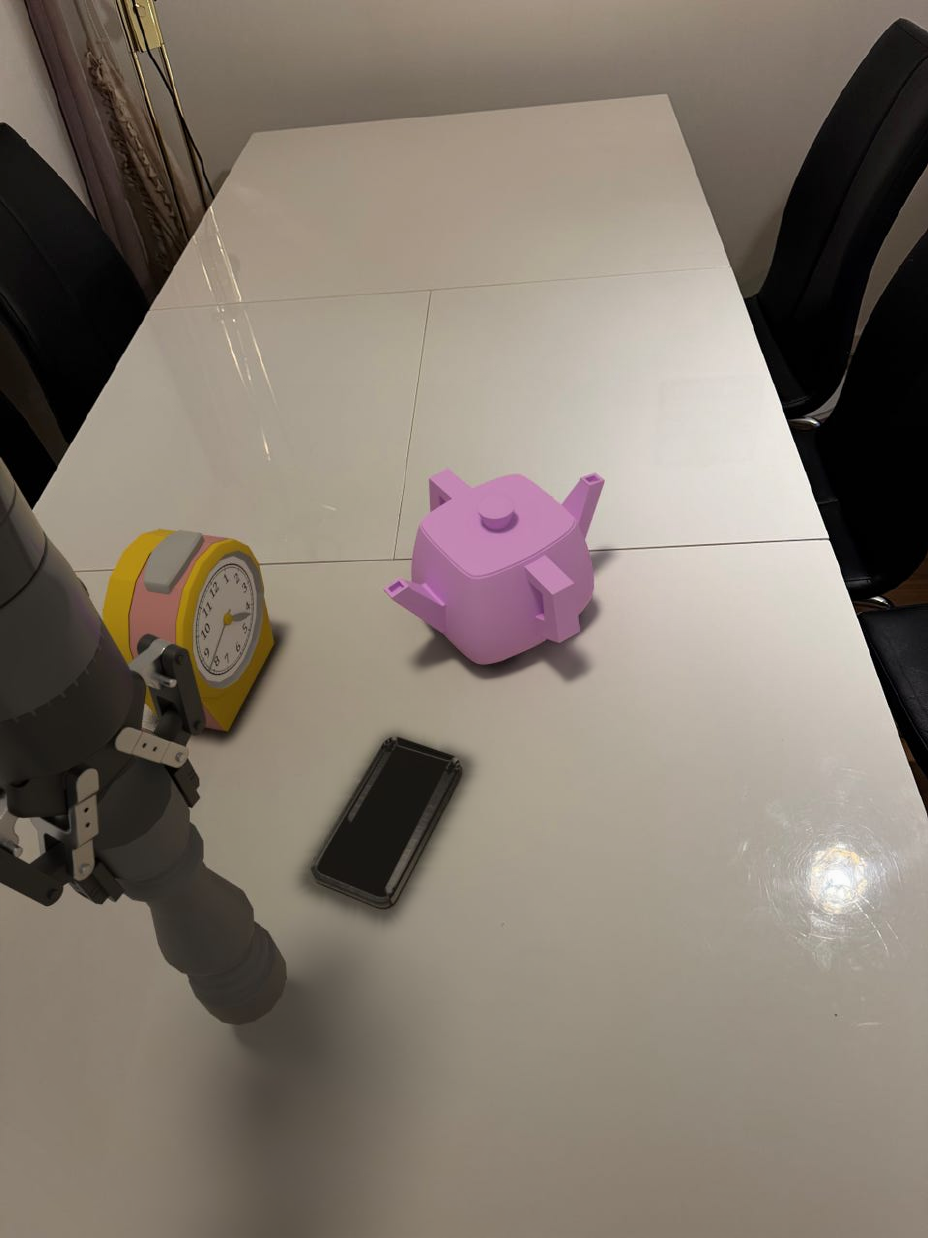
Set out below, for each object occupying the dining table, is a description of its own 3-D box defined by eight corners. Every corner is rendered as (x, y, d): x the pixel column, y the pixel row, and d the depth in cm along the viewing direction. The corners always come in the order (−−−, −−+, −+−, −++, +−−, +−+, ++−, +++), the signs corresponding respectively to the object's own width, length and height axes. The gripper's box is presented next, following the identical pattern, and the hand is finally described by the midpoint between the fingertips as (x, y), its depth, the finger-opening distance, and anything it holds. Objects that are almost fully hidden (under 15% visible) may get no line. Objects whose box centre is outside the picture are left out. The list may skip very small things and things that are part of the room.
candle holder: (281, 1023, 64) (163, 852, 45) (194, 1027, 64) (40, 858, 45) (292, 936, 68) (187, 746, 49) (210, 940, 68) (75, 752, 49)
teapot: (398, 677, 91) (374, 570, 80) (429, 549, 103) (412, 440, 92) (593, 689, 88) (596, 580, 77) (602, 556, 100) (606, 445, 89)
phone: (464, 759, 82) (387, 906, 74) (465, 766, 83) (389, 912, 75) (387, 733, 85) (304, 872, 76) (389, 740, 86) (307, 878, 77)
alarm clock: (226, 747, 87) (162, 619, 73) (150, 732, 89) (74, 605, 75) (287, 631, 96) (240, 498, 83) (217, 620, 98) (160, 488, 85)
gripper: (68, 515, 43) (180, 722, 56) (-199, 744, 36) (1, 926, 48) (188, 560, 41) (278, 768, 53) (-73, 820, 33) (105, 992, 45)
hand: (146, 842), depth 51 cm, fingers closed on candle holder, 5 cm apart
